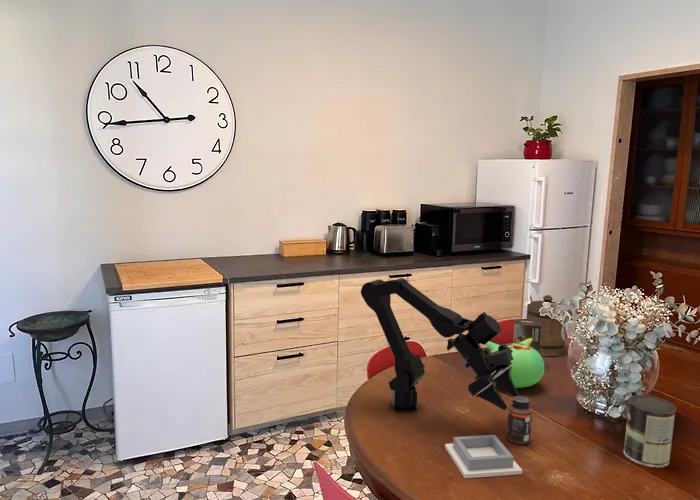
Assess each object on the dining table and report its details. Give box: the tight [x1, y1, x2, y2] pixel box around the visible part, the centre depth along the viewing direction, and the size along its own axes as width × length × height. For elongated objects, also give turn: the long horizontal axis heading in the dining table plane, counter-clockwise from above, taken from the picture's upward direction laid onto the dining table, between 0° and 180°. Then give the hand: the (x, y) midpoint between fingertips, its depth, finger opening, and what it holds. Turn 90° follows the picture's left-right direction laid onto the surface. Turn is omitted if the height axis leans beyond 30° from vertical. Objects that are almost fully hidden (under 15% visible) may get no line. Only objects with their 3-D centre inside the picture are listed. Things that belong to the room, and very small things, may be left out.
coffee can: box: [622, 394, 677, 469], centre depth 137 cm, size 10×10×14 cm
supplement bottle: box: [506, 395, 533, 445], centre depth 144 cm, size 6×6×11 cm
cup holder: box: [444, 434, 523, 479], centre depth 134 cm, size 14×14×4 cm
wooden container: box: [525, 294, 567, 357], centre depth 214 cm, size 15×15×22 cm
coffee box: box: [513, 319, 541, 354], centre depth 198 cm, size 9×6×16 cm
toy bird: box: [485, 338, 545, 389], centre depth 180 cm, size 18×17×15 cm
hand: (511, 402), depth 145 cm, fingers open, 9 cm apart
